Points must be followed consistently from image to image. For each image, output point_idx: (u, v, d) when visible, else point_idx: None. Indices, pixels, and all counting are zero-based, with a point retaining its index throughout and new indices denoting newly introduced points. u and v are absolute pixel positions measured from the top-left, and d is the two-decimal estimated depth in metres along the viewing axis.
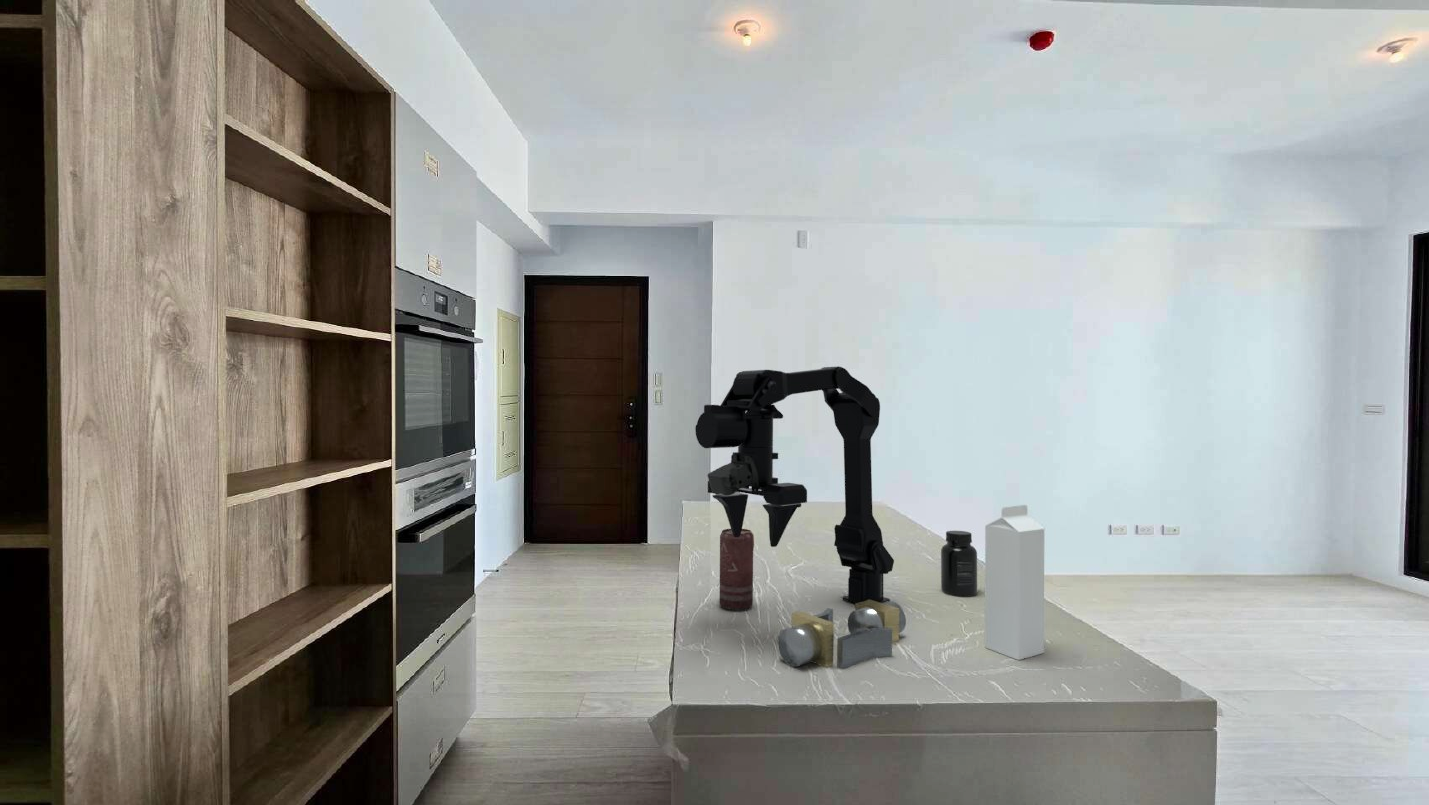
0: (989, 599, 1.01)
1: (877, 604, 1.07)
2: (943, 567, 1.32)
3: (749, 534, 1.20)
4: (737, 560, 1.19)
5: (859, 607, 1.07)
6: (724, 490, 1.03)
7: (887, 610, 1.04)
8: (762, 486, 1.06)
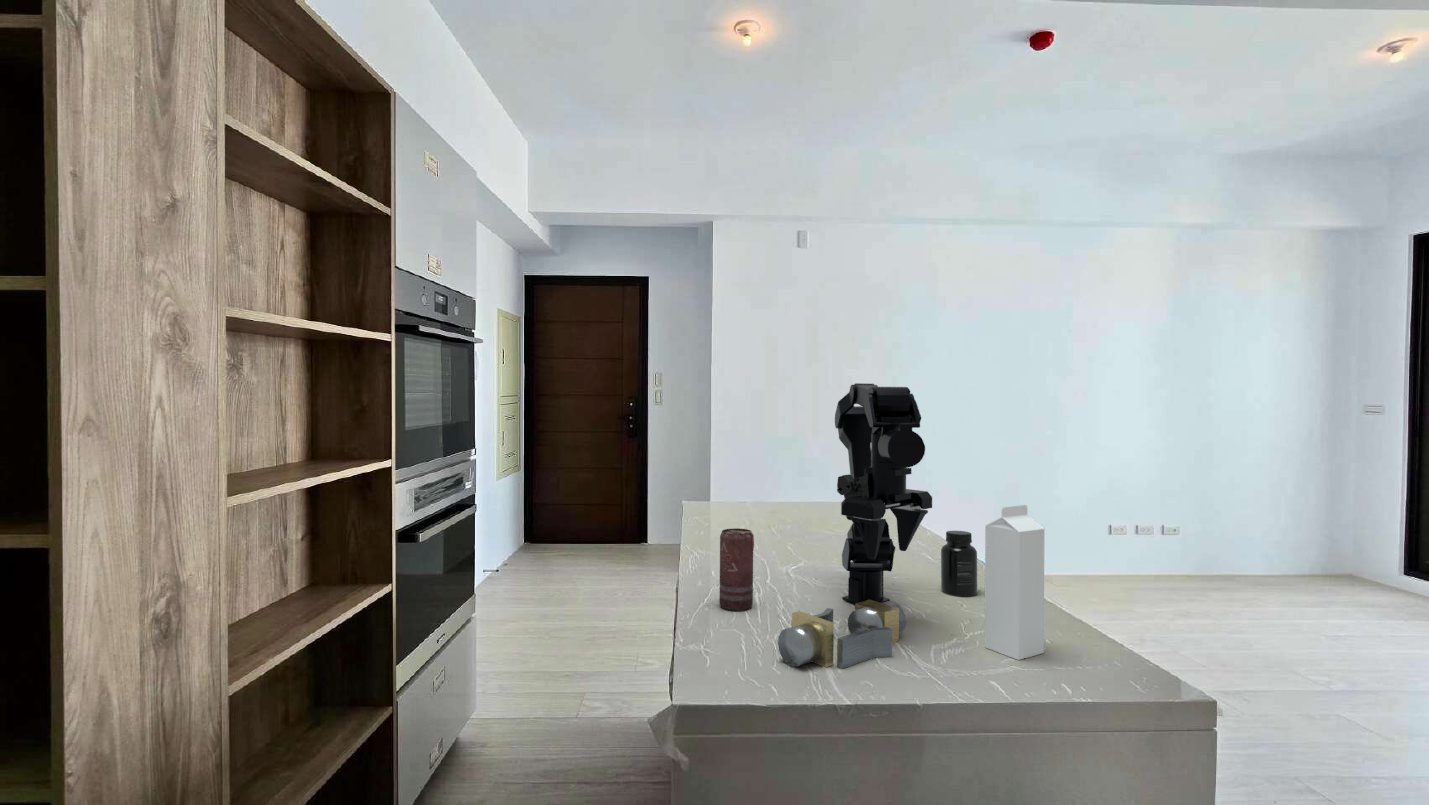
0: (989, 599, 1.01)
1: (877, 604, 1.07)
2: (943, 567, 1.32)
3: (749, 534, 1.20)
4: (737, 560, 1.19)
5: (859, 607, 1.07)
6: None
7: (887, 610, 1.04)
8: None
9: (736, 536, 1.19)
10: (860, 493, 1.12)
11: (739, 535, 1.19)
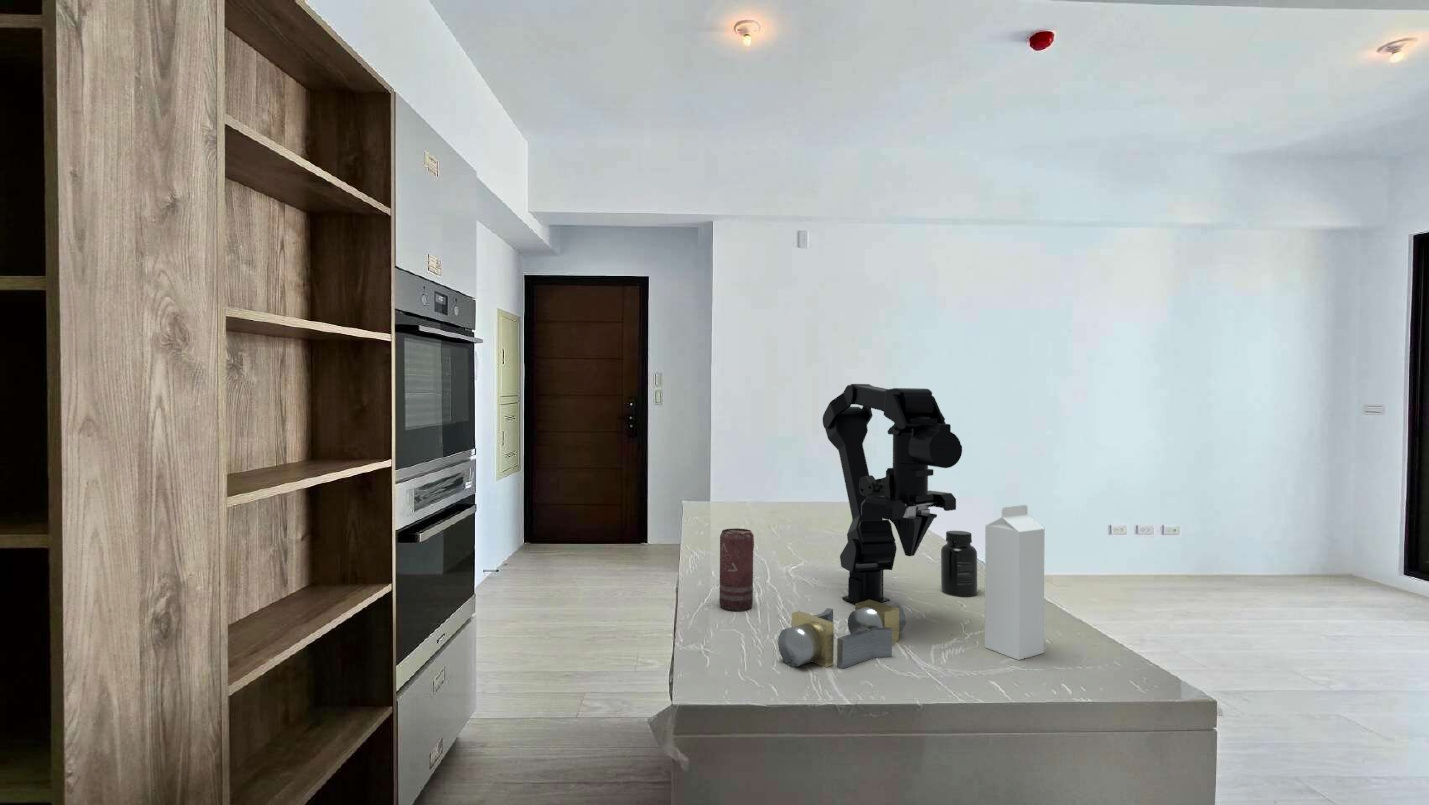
0: (989, 599, 1.01)
1: (877, 604, 1.07)
2: (943, 567, 1.32)
3: (749, 534, 1.20)
4: (737, 560, 1.19)
5: (859, 607, 1.07)
6: (867, 496, 1.16)
7: (887, 610, 1.04)
8: None
9: (736, 536, 1.19)
10: (882, 494, 1.13)
11: (739, 535, 1.19)
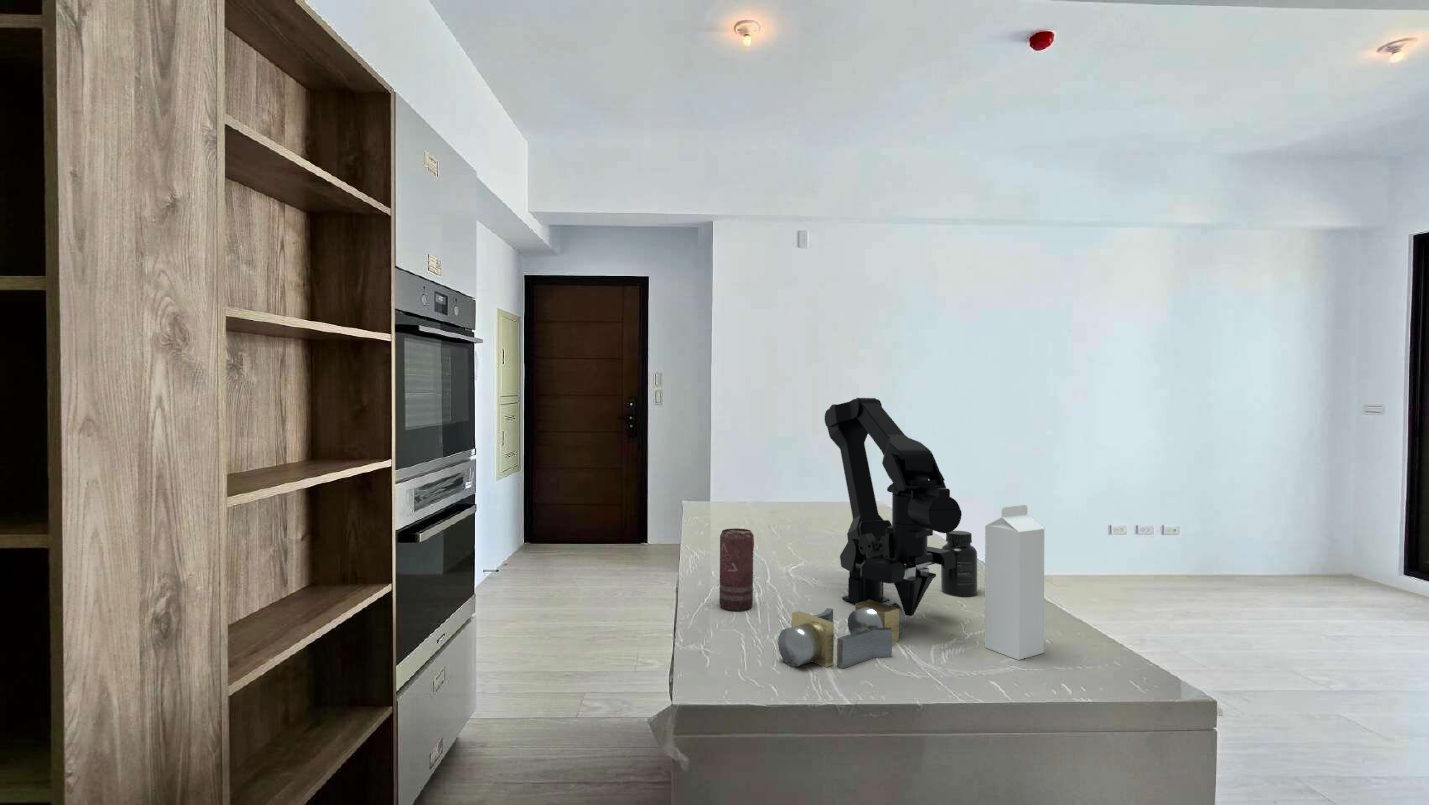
0: (989, 599, 1.01)
1: (877, 604, 1.07)
2: None
3: (749, 534, 1.20)
4: (737, 560, 1.19)
5: (859, 607, 1.07)
6: None
7: (887, 610, 1.04)
8: (895, 560, 1.10)
9: (736, 536, 1.19)
10: (881, 553, 1.13)
11: (739, 535, 1.19)
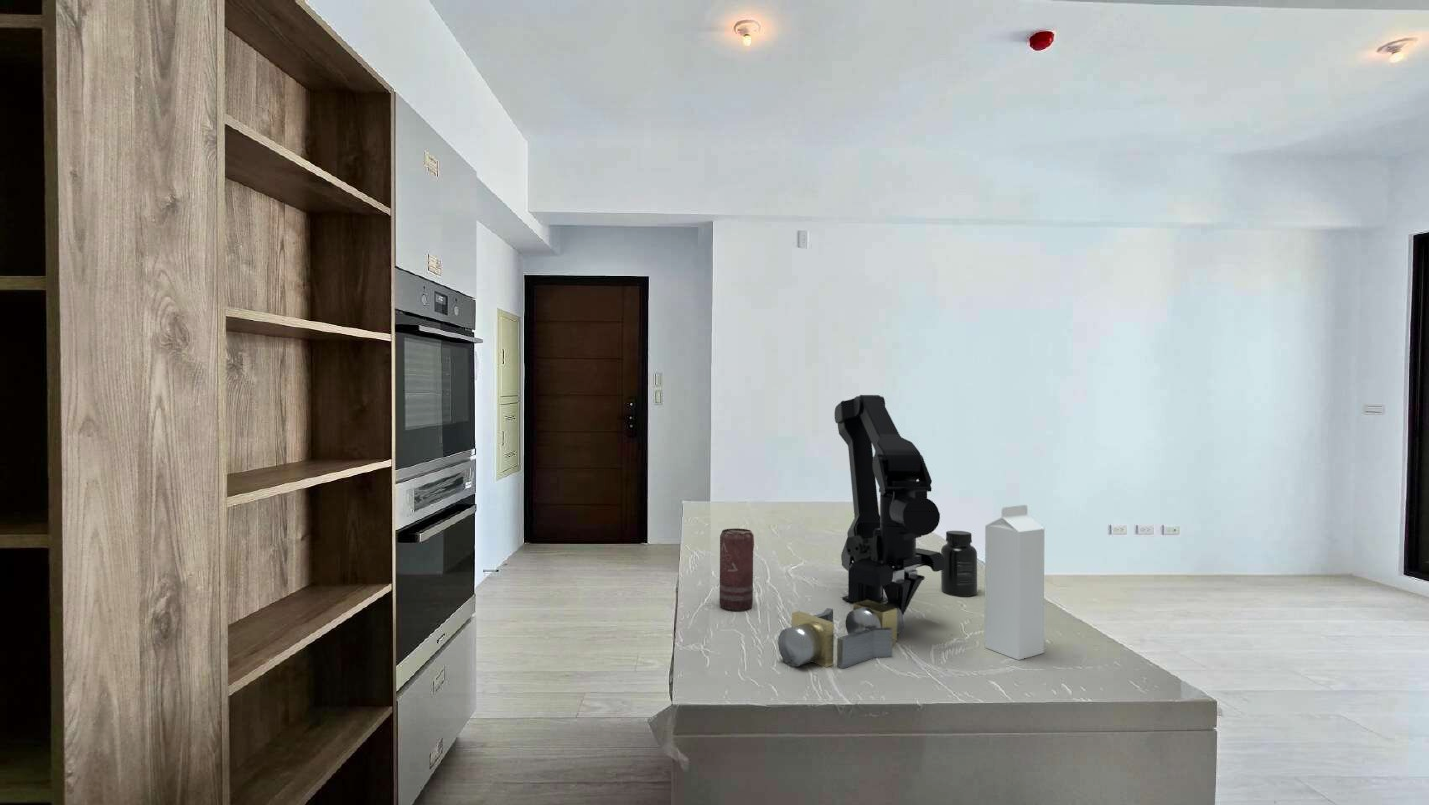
0: (989, 599, 1.01)
1: (875, 604, 1.06)
2: None
3: (749, 534, 1.20)
4: (737, 560, 1.19)
5: (857, 607, 1.06)
6: None
7: (885, 610, 1.04)
8: (883, 563, 1.08)
9: (736, 536, 1.19)
10: (869, 555, 1.11)
11: (739, 535, 1.19)
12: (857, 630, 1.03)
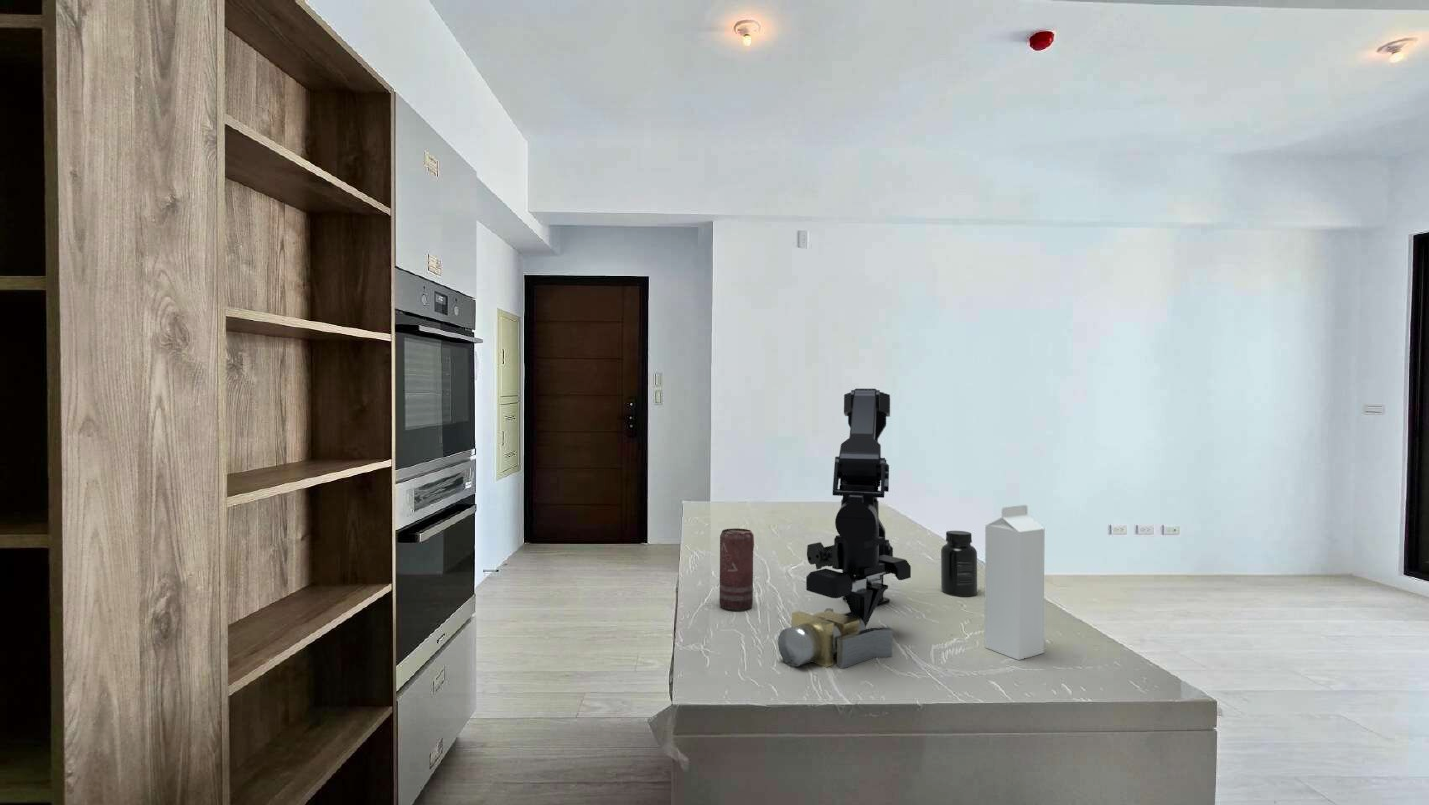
0: (989, 599, 1.01)
1: (836, 615, 1.01)
2: (943, 567, 1.32)
3: (749, 534, 1.20)
4: (737, 560, 1.19)
5: None
6: None
7: (846, 621, 0.98)
8: (844, 571, 1.02)
9: (736, 536, 1.19)
10: (830, 563, 1.05)
11: (739, 535, 1.19)
12: None
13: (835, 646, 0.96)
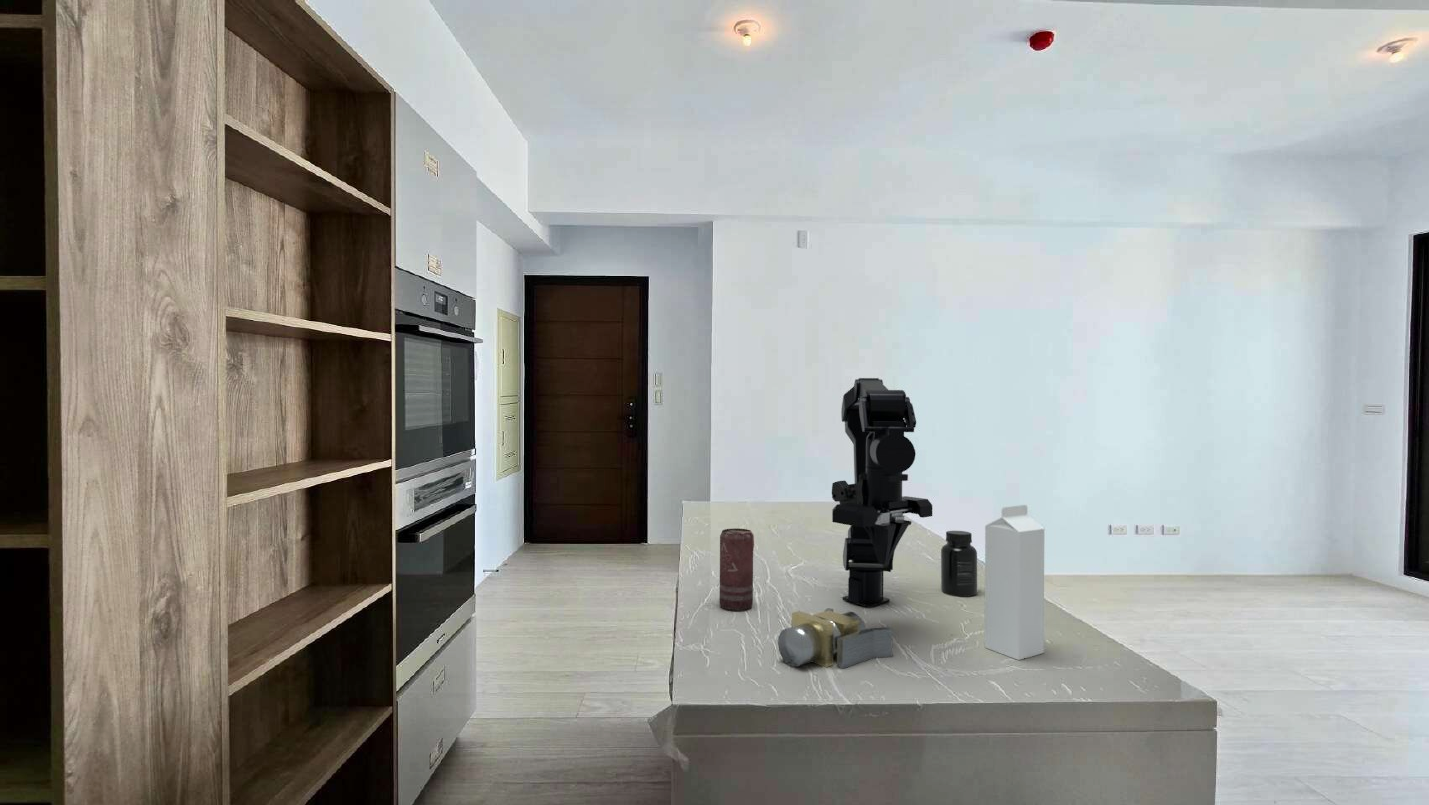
0: (989, 599, 1.01)
1: (836, 615, 1.01)
2: (943, 567, 1.32)
3: (749, 534, 1.20)
4: (737, 560, 1.19)
5: None
6: (840, 502, 1.12)
7: (846, 621, 0.98)
8: None
9: (736, 536, 1.19)
10: (855, 500, 1.08)
11: (739, 535, 1.19)
12: None
13: (835, 646, 0.96)
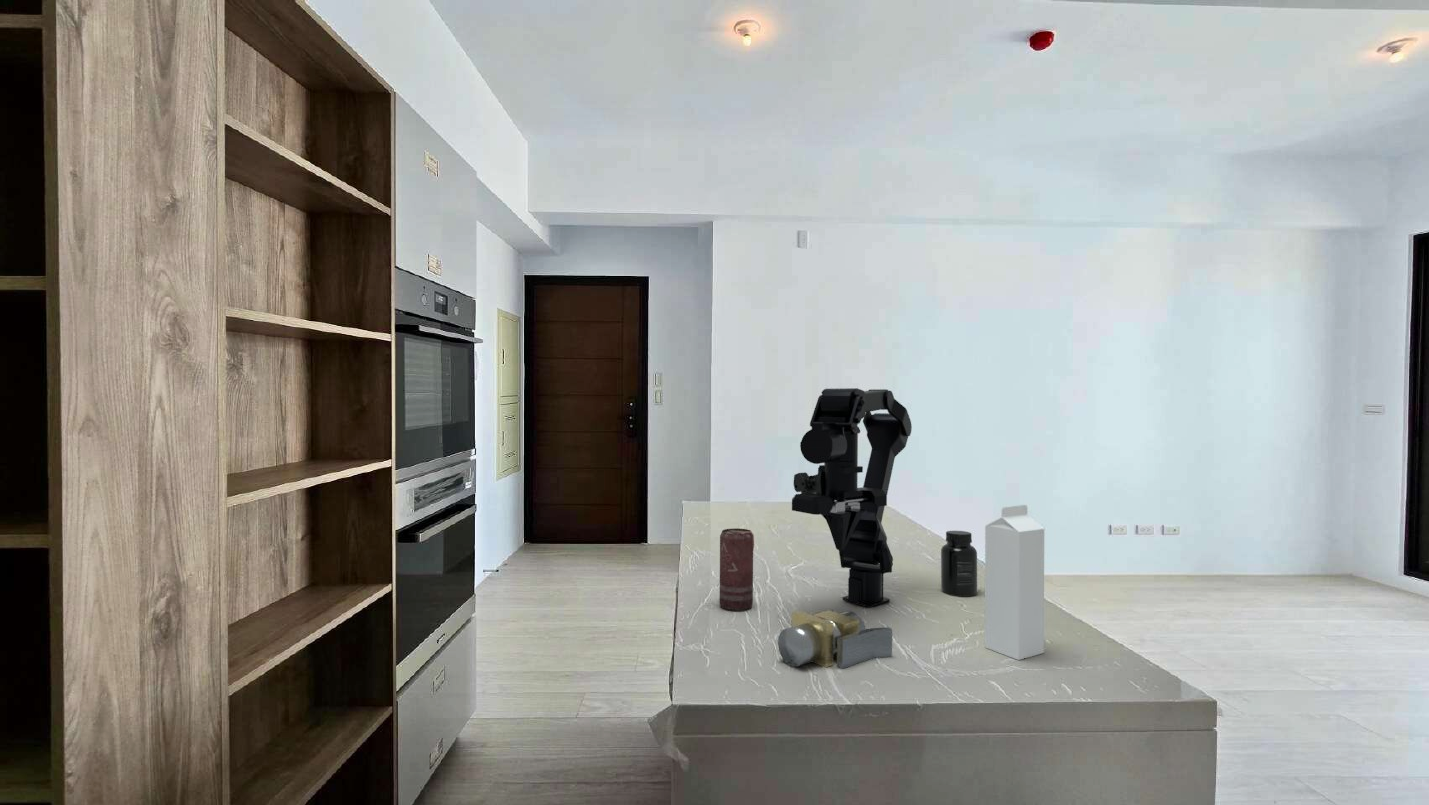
0: (989, 599, 1.01)
1: (836, 615, 1.01)
2: (943, 567, 1.32)
3: (749, 534, 1.20)
4: (737, 560, 1.19)
5: None
6: None
7: (846, 621, 0.98)
8: None
9: (736, 536, 1.19)
10: (814, 490, 1.17)
11: (739, 535, 1.19)
12: None
13: (835, 646, 0.96)
